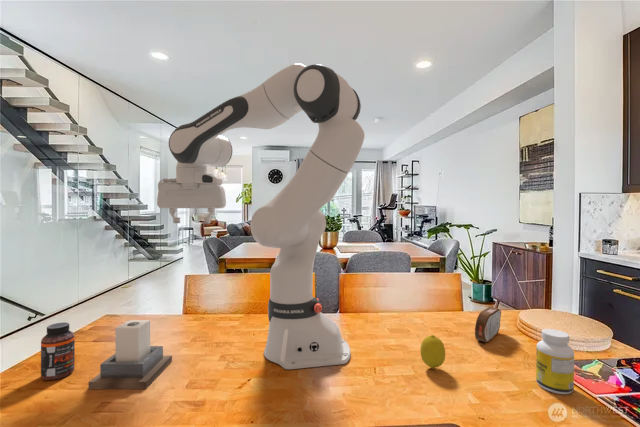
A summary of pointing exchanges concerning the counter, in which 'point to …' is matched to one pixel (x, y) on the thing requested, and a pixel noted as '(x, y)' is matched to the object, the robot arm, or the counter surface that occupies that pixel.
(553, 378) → the pill bottle
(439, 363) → the lemon
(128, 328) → the nylon bushing block
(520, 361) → the counter surface
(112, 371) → the socket collar
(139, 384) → the walnut jig board
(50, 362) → the supplement bottle
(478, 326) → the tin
